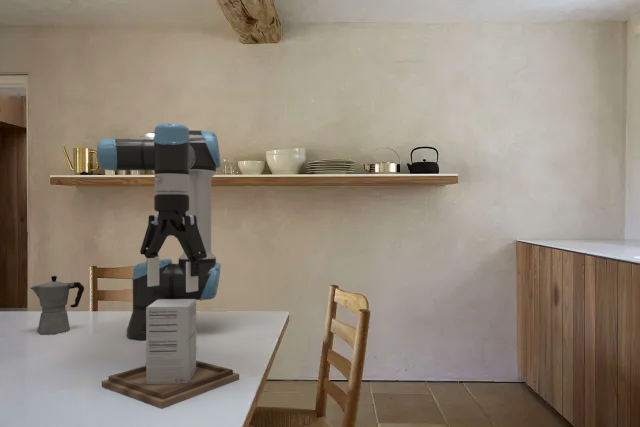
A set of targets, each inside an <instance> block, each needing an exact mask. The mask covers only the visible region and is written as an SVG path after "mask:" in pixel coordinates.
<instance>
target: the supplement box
mask: <svg viewBox="0 0 640 427" xmlns="http://www.w3.org/2000/svg"><path fill="white" fill-rule="evenodd" d="M145 343H146V344H145V349H146V350H145V353H146V354H145V356H146V357H145V358H146V360H145V362H146V363H145V364H146V365H145V366H146V384H188V383H189V382H190V380H191V378H192V377H193V375H194V373H195V371H196V361H197V300H196V299H158V300H156V301H155V302H153V303H152V304H150V305H149V306H148V307H146V340H145Z"/></svg>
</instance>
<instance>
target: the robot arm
mask: <svg viewBox="0 0 640 427" xmlns="http://www.w3.org/2000/svg"><path fill="white" fill-rule="evenodd" d="M96 160H97V164H98V166H99V168H100V169H101V170H103V171H113V172H115V171H145V172H148V171H149V172H150V171H153V173H154V193H157V194H155V195H154V197H153V198H154V200H153V203H154V205H153V208H154V209H153V210H154V211H155V212H158V214H149V215H148V222H147V228H146V230H145V234H144V238H143V240H142V244H141V246H140V250H139V253H140V255H144V256H145V259H146V261H144V262H140V263H136V264H135V265H134V266H133V270H132V279H131V281H132V313H131V315H130V318H129V322H128V325H127V328H126V337H127V338H128V339H130V340H131V339H132V340H136V341H146V307H148V306H149V305H150V304H152V303H153V302H155V301H156V300H158V299H196V301H201V302H202V301H206V300H212V299H214V298H216V296H217V293H218V288H219V282H220V274H221V268H222V267H221V266H222V265H221V263H220V262H218V261H217V257H216V256H215V255H214V253H212V178H213V177H214V176H215V175H216V174H217V168H220V167H221V154H220V147H219V141H218V136H217V134H216V133H215V132H213V131H211V130H210V131H209V130H202V129H201V130H189V128H188V127H187V125H184V124H179V123H159V124H157V125H156V126H155V127H154V131H153V132H149V133H144V134H141V135H140V136H139V137H131V138H113V137H112V138H102V139H100V140H99V141H98V143H97V146H96ZM170 236H174V238H176V239H177V241H178V242H179V244H180V246H181V248H182V250H183V252H182V253H181V255H180V256H179V257H178V263H173V260H172V259H171V258H165V259H160V255H159V253H160V251H161V249H162V247H163V245H164V244H165V241H166V239H167V238H168V237H170Z"/></svg>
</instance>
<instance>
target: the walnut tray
mask: <svg viewBox="0 0 640 427" xmlns="http://www.w3.org/2000/svg"><path fill="white" fill-rule="evenodd" d="M238 380H240V373H237V372H235V371H234V370H233V369H231V368H228V367H223V366H219V365H216V364H212V363H207V362H204V361H200V360H196V371H195V373H194V375H193V377H192V378H191V380H190V382H189V383H188V384H146V365H143V366H140V367H136V368H132V369H130V370H126V371H122V372H118V373H115V374H112V375H109V376H108V379H105V380H101V387H102V388H104V389H107V390H108V391H109V390H110V391H112V392H116V393H118V394H119V395H120V394H121V395H123V396H126V397H128V398H132V399H135V400H137V401H141V402H143V403H146V404H148V405H151V406H154V407H156V408H159V409H163V408H167V407H170V406H173V405H174V404H177V403H180V402H182V401H185V400H188V399H190V398H193V397H196V396H198V395H201V394H204V393H206V392H209V391H211V390H214V389H216V388H219V387H222V386H225V385H227V384H230V383H233V382H235V381H238Z"/></svg>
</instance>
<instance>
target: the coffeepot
mask: <svg viewBox="0 0 640 427" xmlns="http://www.w3.org/2000/svg"><path fill="white" fill-rule="evenodd" d="M50 278H51V281H50V282H47V283H42V284H38V285H34V286H32V287H30V290H31V291H33V292H34V294H36V296H37V297H38V299H39V304H40V307H41V313H40V316H39V321H38V327H37V333H38V334H39V335H42V336H43V335H44V336H47V335H48V336H51V335H50V334H53V335H59V334H58V333H60V334H63V333H62V332H65V333H67V332H69V331H70V330H71V327H70V321H69V316H68V311H67V310H66V305H68V301H69V300H68V299H69V295H70V293H69V292H70V289H72V290H73V289H78V290H77V292H76V296H75V299H74V304H70V308H71V309H72V308H78V307H79V304H80V302H81V298H82V296H83V293H84V291H85V287H84V286H83V284H82V283H80V282H79V281H74V282H61V281H57V279H58V276H56V275H53V276H50ZM68 330H69V331H68ZM66 331H67V332H66Z"/></svg>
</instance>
